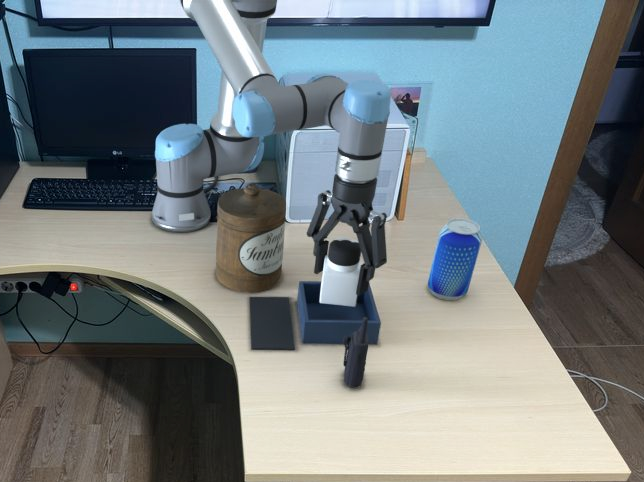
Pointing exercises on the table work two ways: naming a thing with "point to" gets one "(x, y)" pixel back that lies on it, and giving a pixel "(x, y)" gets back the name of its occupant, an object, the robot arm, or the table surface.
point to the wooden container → (250, 238)
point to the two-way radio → (356, 355)
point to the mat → (271, 324)
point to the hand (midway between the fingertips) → (340, 281)
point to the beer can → (454, 259)
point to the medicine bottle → (341, 273)
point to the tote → (334, 316)
